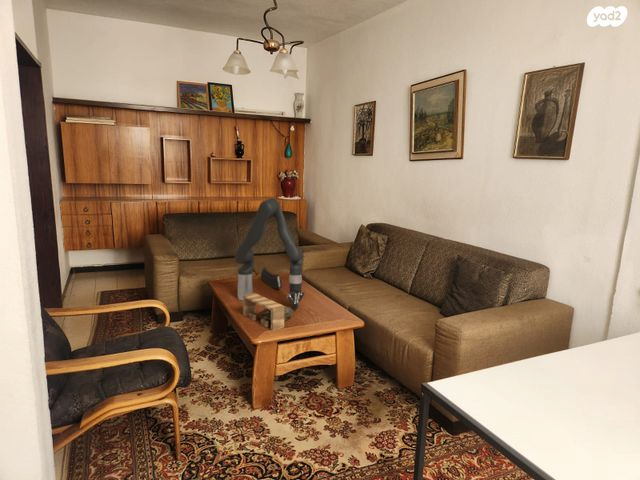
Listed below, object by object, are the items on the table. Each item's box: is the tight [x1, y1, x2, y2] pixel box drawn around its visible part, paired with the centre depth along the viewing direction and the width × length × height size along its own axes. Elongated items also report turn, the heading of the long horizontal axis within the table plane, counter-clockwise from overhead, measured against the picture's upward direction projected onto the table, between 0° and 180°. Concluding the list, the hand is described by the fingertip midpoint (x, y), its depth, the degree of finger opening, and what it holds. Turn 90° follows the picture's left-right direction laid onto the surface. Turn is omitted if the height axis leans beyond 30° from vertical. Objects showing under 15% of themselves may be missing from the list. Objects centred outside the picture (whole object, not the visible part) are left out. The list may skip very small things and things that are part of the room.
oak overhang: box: [242, 292, 285, 332], centre depth 229 cm, size 29×8×12 cm, turn 43°
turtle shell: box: [257, 305, 294, 323], centre depth 234 cm, size 16×9×20 cm
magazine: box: [260, 266, 283, 291], centre depth 295 cm, size 17×3×30 cm
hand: (295, 309), depth 246 cm, fingers closed
